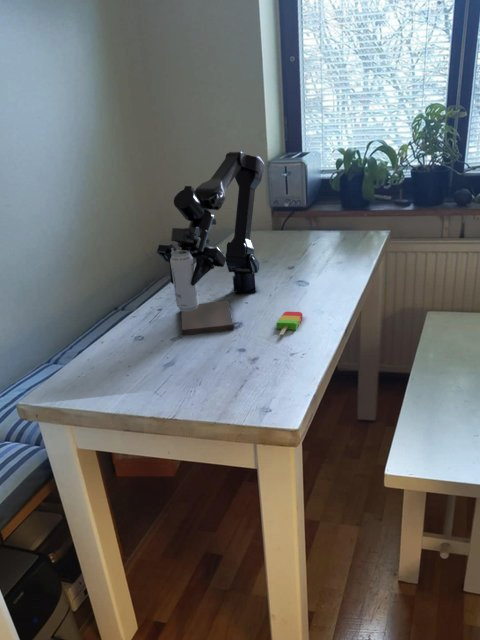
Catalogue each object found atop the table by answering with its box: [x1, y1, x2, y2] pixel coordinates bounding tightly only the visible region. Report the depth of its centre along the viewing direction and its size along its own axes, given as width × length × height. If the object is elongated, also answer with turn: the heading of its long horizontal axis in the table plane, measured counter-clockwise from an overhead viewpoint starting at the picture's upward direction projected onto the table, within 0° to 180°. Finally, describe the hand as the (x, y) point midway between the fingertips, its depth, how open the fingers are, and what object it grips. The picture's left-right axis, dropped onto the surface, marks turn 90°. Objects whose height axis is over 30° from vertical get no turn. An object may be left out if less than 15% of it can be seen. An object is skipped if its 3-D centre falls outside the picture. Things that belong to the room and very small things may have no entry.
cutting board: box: [181, 300, 235, 336], centre depth 173 cm, size 14×20×2 cm
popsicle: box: [275, 311, 303, 336], centre depth 164 cm, size 6×15×2 cm, turn 164°
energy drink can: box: [170, 249, 200, 312], centre depth 161 cm, size 6×6×15 cm
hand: (182, 284), depth 161 cm, fingers closed on energy drink can, 6 cm apart
